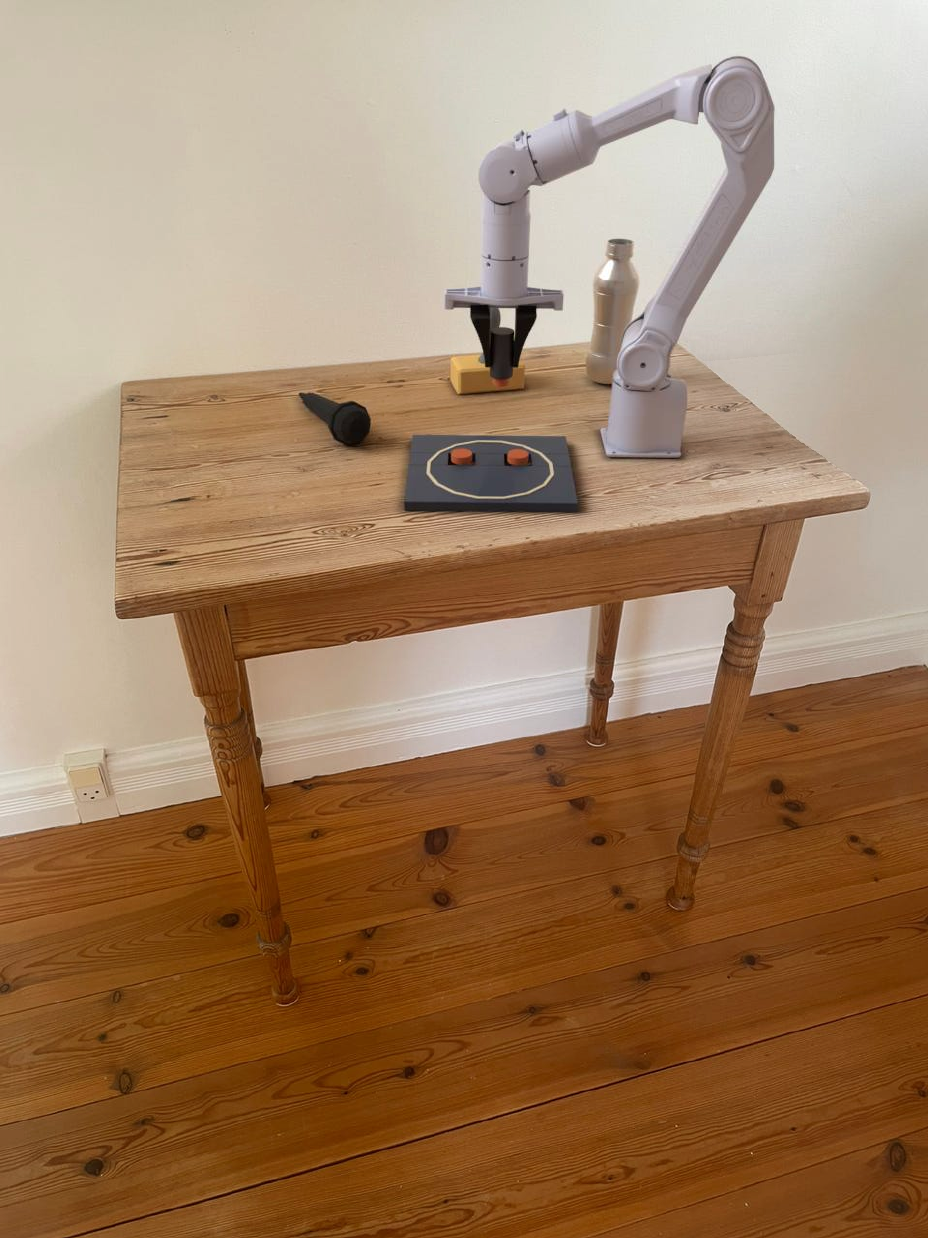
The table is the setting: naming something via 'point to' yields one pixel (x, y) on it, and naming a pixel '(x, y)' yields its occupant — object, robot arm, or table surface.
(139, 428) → the table surface
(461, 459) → the eye
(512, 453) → the eye
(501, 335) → the marker
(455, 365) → the rubber stamp
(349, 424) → the microphone
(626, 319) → the plastic bottle
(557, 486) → the face board
